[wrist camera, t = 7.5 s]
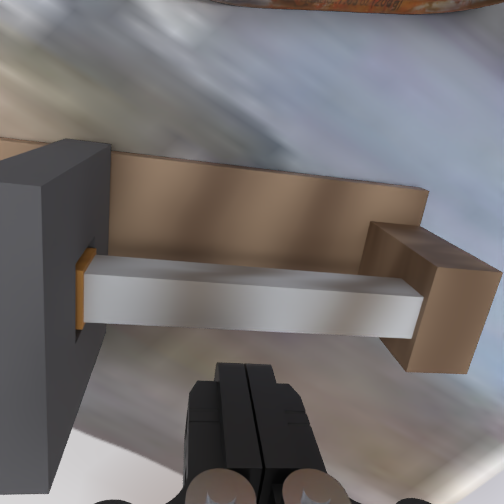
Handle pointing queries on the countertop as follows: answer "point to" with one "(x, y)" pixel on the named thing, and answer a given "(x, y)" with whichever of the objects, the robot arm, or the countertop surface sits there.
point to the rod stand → (280, 259)
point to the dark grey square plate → (46, 302)
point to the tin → (368, 5)
